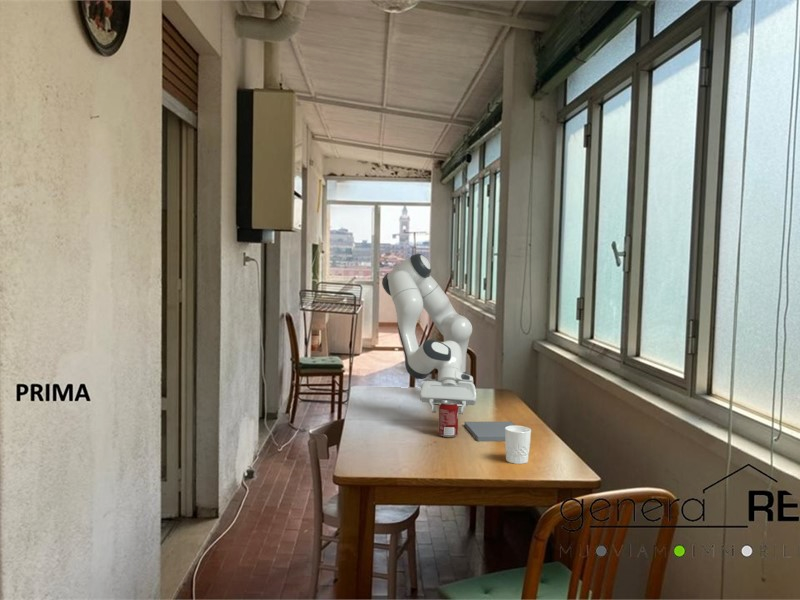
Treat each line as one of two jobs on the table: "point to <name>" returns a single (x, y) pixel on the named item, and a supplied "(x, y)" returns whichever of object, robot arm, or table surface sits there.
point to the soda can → (448, 419)
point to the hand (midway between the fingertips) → (447, 412)
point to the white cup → (517, 444)
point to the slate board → (488, 430)
